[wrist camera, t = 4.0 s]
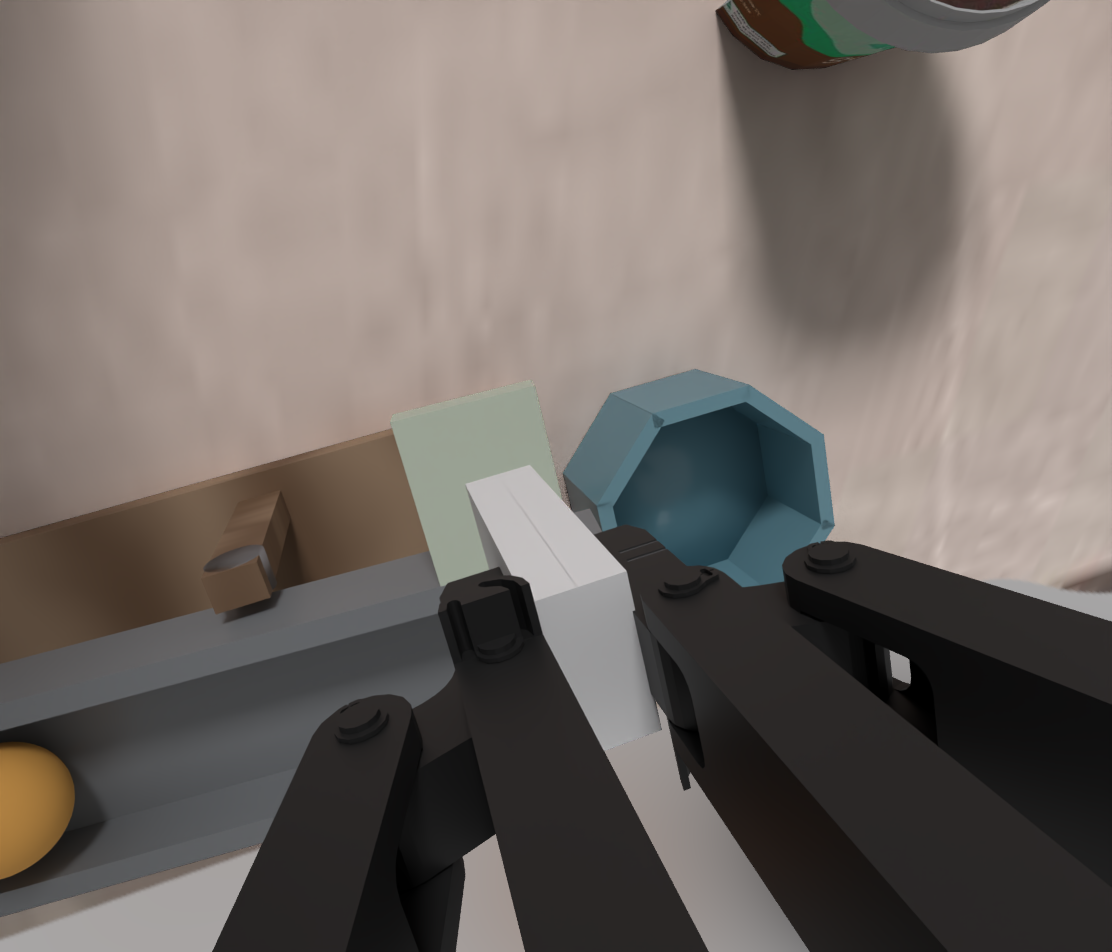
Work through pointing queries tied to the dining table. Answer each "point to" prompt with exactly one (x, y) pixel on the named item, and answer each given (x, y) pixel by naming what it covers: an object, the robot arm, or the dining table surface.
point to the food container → (865, 26)
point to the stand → (207, 546)
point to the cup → (706, 474)
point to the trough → (255, 674)
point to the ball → (31, 804)
